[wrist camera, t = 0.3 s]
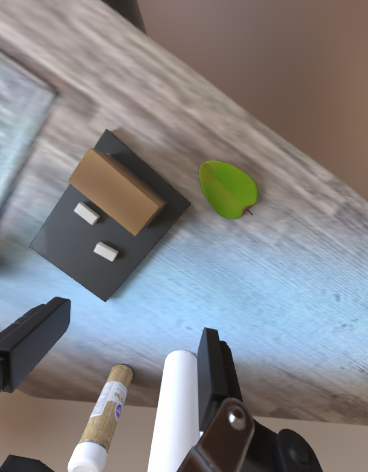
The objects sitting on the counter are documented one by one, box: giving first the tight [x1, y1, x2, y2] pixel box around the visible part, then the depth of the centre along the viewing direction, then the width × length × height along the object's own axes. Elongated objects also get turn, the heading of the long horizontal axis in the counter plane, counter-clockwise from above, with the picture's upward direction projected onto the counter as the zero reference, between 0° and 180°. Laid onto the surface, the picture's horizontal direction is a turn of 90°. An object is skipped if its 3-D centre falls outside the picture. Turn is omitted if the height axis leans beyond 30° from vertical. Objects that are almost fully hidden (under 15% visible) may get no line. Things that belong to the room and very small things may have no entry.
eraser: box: [68, 148, 168, 236], centre depth 24 cm, size 5×10×6 cm, turn 49°
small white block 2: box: [94, 242, 119, 261], centre depth 28 cm, size 2×3×1 cm, turn 59°
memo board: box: [29, 129, 191, 302], centre depth 29 cm, size 22×15×1 cm
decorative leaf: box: [199, 161, 258, 219], centre depth 26 cm, size 8×9×1 cm
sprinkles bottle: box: [68, 365, 133, 472], centre depth 30 cm, size 5×5×13 cm
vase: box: [148, 350, 203, 472], centre depth 26 cm, size 11×7×20 cm, turn 70°
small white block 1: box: [74, 202, 100, 225], centre depth 27 cm, size 2×3×1 cm, turn 49°
